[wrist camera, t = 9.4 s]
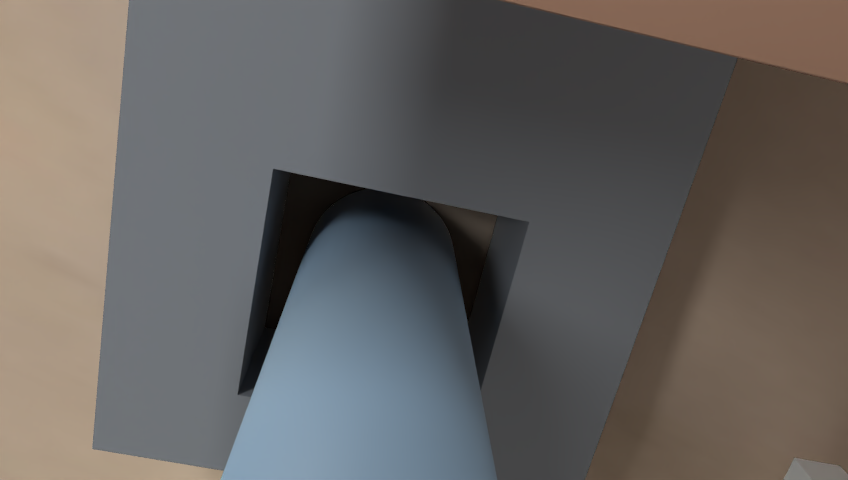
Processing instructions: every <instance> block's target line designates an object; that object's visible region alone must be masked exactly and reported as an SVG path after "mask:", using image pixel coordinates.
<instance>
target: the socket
mask: <svg viewBox="0 0 848 480" xmlns="http://www.w3.org/2000/svg"><path fill="white" fill-rule="evenodd" d="M737 59H738V58H736V57H732V56H728V55H724V54H720V53H715V52H711V51H707V50H703V49H699V48H695V47H690V46H686V45H682V44H678V43H674V42H670V41H665V40H661V39H657V38H653V37H649V36H645V35H640V34H636V33H632V32H628V31H624V30H620V29H615V28H611V27H607V26H603V25H599V24H595V23H590V22H586V21H582V20H578V19H574V18H570V17H565V16H561V15H557V14H553V13H549V12H545V11H540V10H536V9H532V8H528V7H524V6H520V5H515V4H511V3H507V2H503V1H499V0H129V7H128V19H127V31H126V44H125V56H124V68H123V80H122V93H121V105H120V117H119V129H118V142H117V154H116V166H115V178H114V191H113V203H112V215H111V227H110V240H109V252H108V264H107V276H106V289H105V301H104V313H103V325H102V337H101V350H100V362H99V374H98V386H97V399H96V411H95V423H94V435H93V448H92V449H96V450H102V451H108V452H114V453H120V454H126V455H132V456H138V457H144V458H150V459H156V460H162V461H168V462H174V463H180V464H187V465H193V466H199V467H205V468H211V469H217V470H223V471H224V469H225V467H226V464H227V461H228V458H229V456H230V453H231V450H232V448H233V445H234V442H235V439H236V437H237V434H238V431H239V429H240V426H241V423H242V421H243V418H244V415H245V412H246V410H247V407H248V404H249V402H250V399H251V396H252V393H253V391H254V388H255V385H256V383H257V380H258V377H259V374H260V372H261V369H262V366H263V364H264V361H265V358H266V356H267V353H268V350H269V347H270V345H271V342H272V339H273V337H274V334H275V331H276V329H271V328H266V327H265V324H266V317H267V311H268V305H269V299H270V293H271V287H272V281H273V275H274V269H275V263H276V257H277V251H278V245H279V239H280V233H281V227H282V221H283V215H284V209H285V203H286V197H287V191H288V185H289V179H290V173H291V172H292V173H297V174H301V175H306V176H311V177H316V178H320V179H325V180H330V181H335V182H340V183H344V184H349V185H354V186H359V187H364V188H368V189H373V190H378V191H383V192H388V193H392V194H397V195H402V196H407V197H411V198H416V199H421V200H426V201H431V202H435V203H440V204H445V205H450V206H455V207H459V208H464V209H469V210H474V211H479V212H483V213H488V214H493V215H498V217H497V220H496V224H495V228H494V231H493V235H492V239H491V242H490V246H489V250H488V253H487V257H486V261H485V264H484V268H483V272H482V275H481V279H480V283H479V286H478V290H477V294H476V297H475V301H474V305H473V308H472V312H471V316H470V319H469V323H468V328H469V333H470V338H471V343H472V349H473V354H474V359H475V365H476V370H477V375H478V380H479V386H480V391H481V396H482V402H483V407H484V412H485V417H486V423H487V428H488V433H489V439H490V444H491V449H492V454H493V460H494V465H495V470H496V476H497V480H585V478H586V475H587V472H588V469H589V467H590V464H591V461H592V458H593V456H594V453H595V450H596V447H597V445H598V442H599V439H600V436H601V434H602V431H603V428H604V425H605V423H606V420H607V417H608V414H609V412H610V409H611V406H612V403H613V401H614V398H615V395H616V392H617V390H618V387H619V384H620V381H621V379H622V376H623V373H624V370H625V367H626V365H627V362H628V359H629V356H630V354H631V351H632V348H633V345H634V343H635V340H636V337H637V334H638V332H639V329H640V326H641V323H642V321H643V318H644V315H645V312H646V310H647V307H648V304H649V301H650V299H651V296H652V293H653V290H654V288H655V285H656V282H657V279H658V277H659V274H660V271H661V268H662V265H663V263H664V260H665V257H666V254H667V252H668V249H669V246H670V243H671V241H672V238H673V235H674V232H675V230H676V227H677V224H678V221H679V219H680V216H681V213H682V210H683V208H684V205H685V202H686V199H687V197H688V194H689V191H690V188H691V186H692V183H693V180H694V177H695V175H696V172H697V169H698V166H699V164H700V161H701V158H702V155H703V152H704V150H705V147H706V144H707V141H708V139H709V136H710V133H711V130H712V128H713V125H714V122H715V119H716V117H717V114H718V111H719V108H720V106H721V103H722V100H723V97H724V95H725V92H726V89H727V86H728V84H729V81H730V78H731V75H732V73H733V70H734V67H735V64H736V62H737Z"/></svg>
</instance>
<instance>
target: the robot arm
mask: <svg viewBox="0 0 848 480" xmlns="http://www.w3.org/2000/svg"><path fill="white" fill-rule="evenodd" d="M784 480H848V474H847V473H846V472H845V471H844V470H843V469H842V467H841V466H839V465H833V464H828V463H822V462H816V461H811V460H805V459H799V458H794V459H793V461H792V463H791V465H790V468H789V470H788V472H787V474H786V476H785V478H784Z"/></svg>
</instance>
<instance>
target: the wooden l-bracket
mask: <svg viewBox="0 0 848 480" xmlns="http://www.w3.org/2000/svg"><path fill="white" fill-rule="evenodd" d="M499 1H503V2H507V3H511V4H515V5H520V6H524V7H528V8H532V9H536V10H540V11H545V12H549V13H553V14H557V15H561V16H565V17H570V18H574V19H578V20H582V21H586V22H590V23H595V24H599V25H603V26H607V27H611V28H615V29H620V30H624V31H628V32H632V33H636V34H640V35H645V36H649V37H653V38H657V39H661V40H665V41H670V42H674V43H678V44H682V45H686V46H690V47H695V48H699V49H703V50H707V51H711V52H715V53H720V54H724V55H728V56H732V57H736V58H741V59H745V60H749V61H753V62H757V63H761V64H766V65H770V66H774V67H778V68H782V69H786V70H791V71H795V72H799V73H803V74H807V75H811V76H816V77H820V78H824V79H828V80H832V81H836V82H841V83H845V84H848V0H499Z"/></svg>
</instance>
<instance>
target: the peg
mask: <svg viewBox="0 0 848 480" xmlns="http://www.w3.org/2000/svg"><path fill="white" fill-rule="evenodd" d="M221 480H497V476H496V470H495V465H494V460H493V454H492V449H491V444H490V439H489V433H488V428H487V423H486V417H485V412H484V407H483V402H482V396H481V391H480V386H479V380H478V375H477V370H476V365H475V359H474V354H473V349H472V343H471V338H470V333H469V328H468V322H467V317H466V312H465V306H464V301H463V296H462V291H461V285H460V280H459V275H458V269H457V264H456V259H455V254H454V248H453V244H452V240H451V236H450V234H449V231H448V229H447V227H446V225H445V223H444V222H443V220H442V219H441V218H440V216H439V215H438V214H437V213H436V212H435V211H434V210H433V209H432V208H431V207H430V206H429V205H428V204H426V203H425V202H424V201H422V200H421V199H416V198H411V197H407V196H402V195H397V194H392V193H388V192H383V191H378V190H373V189H365V190H361V191H357V192H354V193H352V194H349V195H347V196H345V197H343V198H341V199H340V200H338V201H337V202H335V203H334V204H333V205H331V206H330V207H329V208H328V209H327V210H326V211H325V212H324V213H323V215H322V216H321V217H320V218H319V220H318V222H317V223H316V225H315V227H314V229H313V231H312V234H311V236H310V239H309V242H308V245H307V247H306V250H305V253H304V255H303V258H302V261H301V263H300V266H299V269H298V272H297V274H296V277H295V280H294V282H293V285H292V288H291V291H290V293H289V296H288V299H287V301H286V304H285V307H284V309H283V312H282V315H281V318H280V320H279V323H278V326H277V328H276V331H275V334H274V337H273V339H272V342H271V345H270V347H269V350H268V353H267V356H266V358H265V361H264V364H263V366H262V369H261V372H260V374H259V377H258V380H257V383H256V385H255V388H254V391H253V393H252V396H251V399H250V402H249V404H248V407H247V410H246V412H245V415H244V418H243V421H242V423H241V426H240V429H239V431H238V434H237V437H236V439H235V442H234V445H233V448H232V450H231V453H230V456H229V458H228V461H227V464H226V467H225V469H224V472H223V475H222V477H221Z"/></svg>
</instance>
